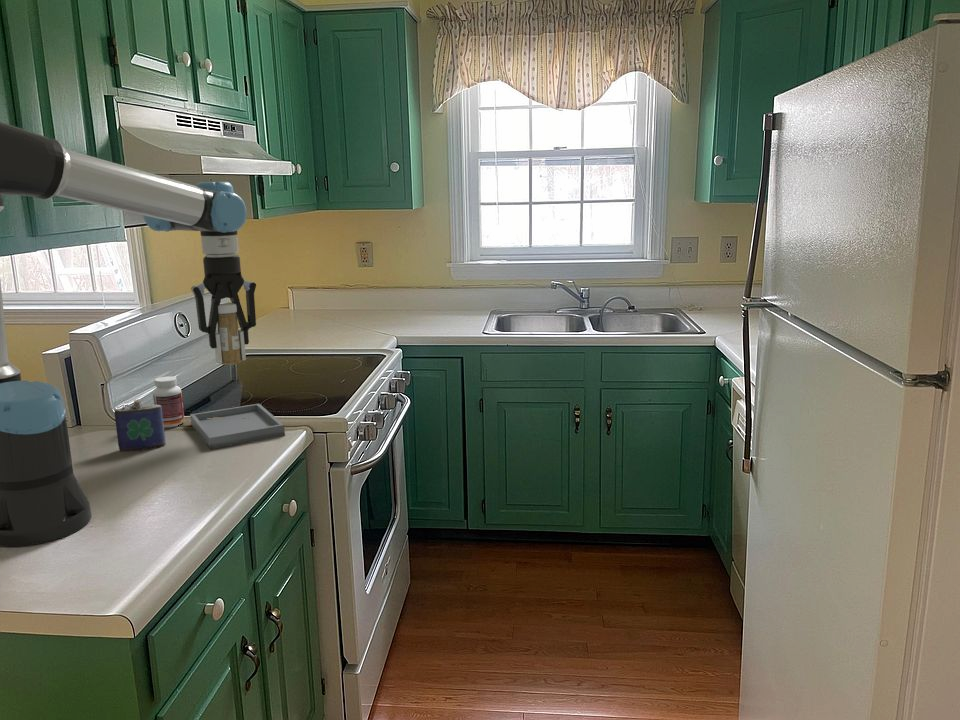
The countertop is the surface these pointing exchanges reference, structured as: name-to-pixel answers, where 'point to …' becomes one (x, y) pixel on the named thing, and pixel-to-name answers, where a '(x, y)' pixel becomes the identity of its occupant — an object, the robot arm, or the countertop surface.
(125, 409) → the flask
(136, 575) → the countertop surface
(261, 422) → the tray
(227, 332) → the sprinkles bottle
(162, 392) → the pill bottle
